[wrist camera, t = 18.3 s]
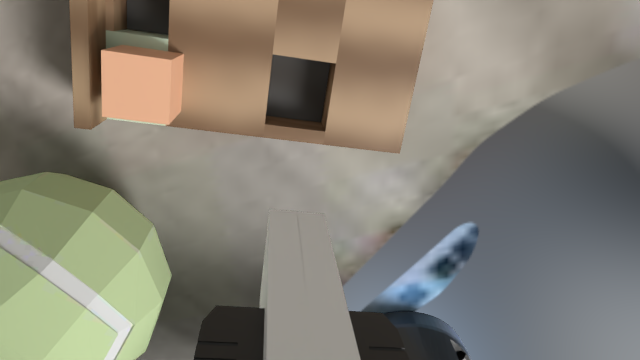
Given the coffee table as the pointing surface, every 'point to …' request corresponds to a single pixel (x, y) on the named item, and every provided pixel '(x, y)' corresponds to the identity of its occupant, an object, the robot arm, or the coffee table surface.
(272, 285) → the robot arm
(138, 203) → the coffee table surface
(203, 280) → the coffee table surface
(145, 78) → the cube
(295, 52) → the wooden box
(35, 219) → the decorative sphere
